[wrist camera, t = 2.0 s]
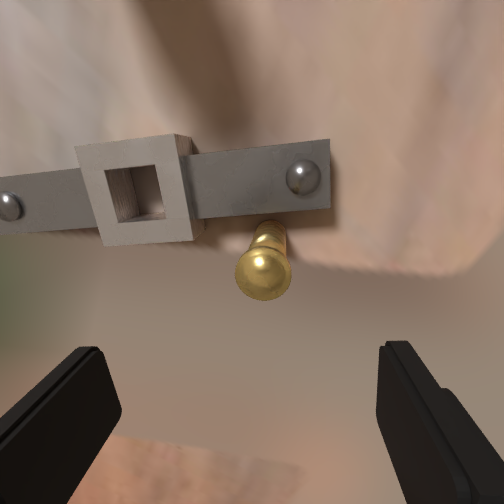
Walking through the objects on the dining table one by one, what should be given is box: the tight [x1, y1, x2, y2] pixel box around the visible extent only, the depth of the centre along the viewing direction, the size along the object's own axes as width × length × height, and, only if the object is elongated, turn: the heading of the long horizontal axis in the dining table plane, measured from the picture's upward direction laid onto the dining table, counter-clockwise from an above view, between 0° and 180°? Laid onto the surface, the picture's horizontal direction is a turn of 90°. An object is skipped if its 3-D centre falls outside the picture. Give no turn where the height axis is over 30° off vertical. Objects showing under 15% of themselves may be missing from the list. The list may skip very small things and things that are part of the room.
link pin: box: [235, 220, 291, 301], centre depth 20 cm, size 3×3×9 cm
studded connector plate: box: [0, 134, 331, 247], centre depth 23 cm, size 30×8×4 cm, turn 96°
